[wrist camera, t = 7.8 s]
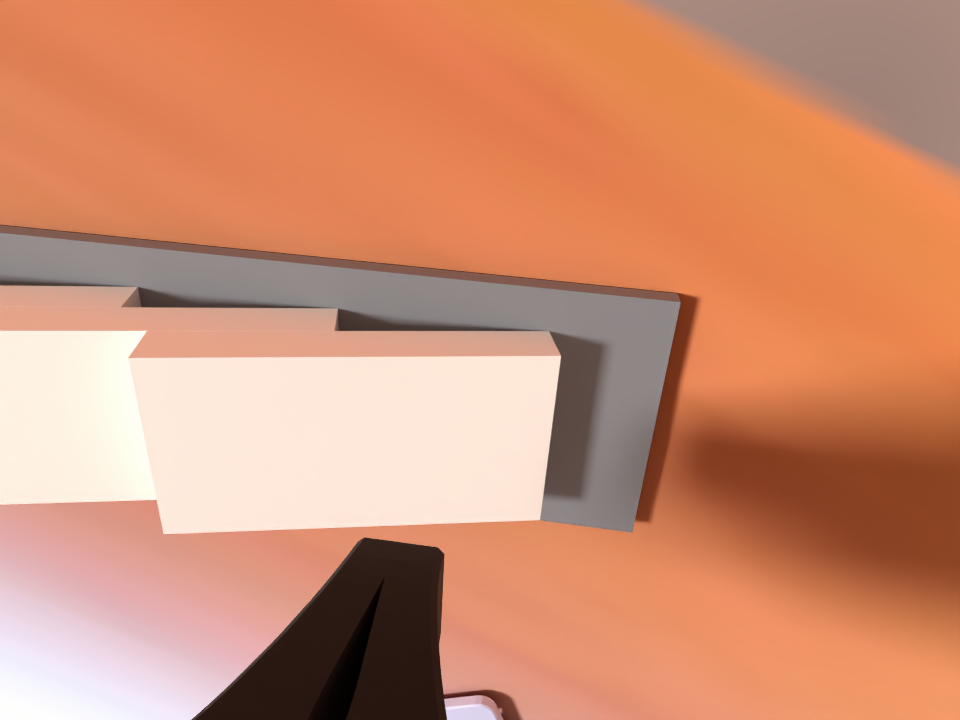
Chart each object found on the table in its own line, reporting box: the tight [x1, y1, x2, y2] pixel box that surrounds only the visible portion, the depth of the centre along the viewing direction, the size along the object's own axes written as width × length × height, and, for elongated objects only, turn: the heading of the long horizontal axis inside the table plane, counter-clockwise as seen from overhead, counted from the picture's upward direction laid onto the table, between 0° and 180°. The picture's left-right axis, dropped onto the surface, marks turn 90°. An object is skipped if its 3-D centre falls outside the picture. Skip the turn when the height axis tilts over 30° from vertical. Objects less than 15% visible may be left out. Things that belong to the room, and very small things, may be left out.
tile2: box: [0, 307, 339, 504], centre depth 16 cm, size 1×4×8 cm
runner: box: [0, 225, 681, 532], centre depth 17 cm, size 23×6×1 cm, turn 87°
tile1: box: [128, 331, 561, 534], centre depth 15 cm, size 1×4×8 cm
